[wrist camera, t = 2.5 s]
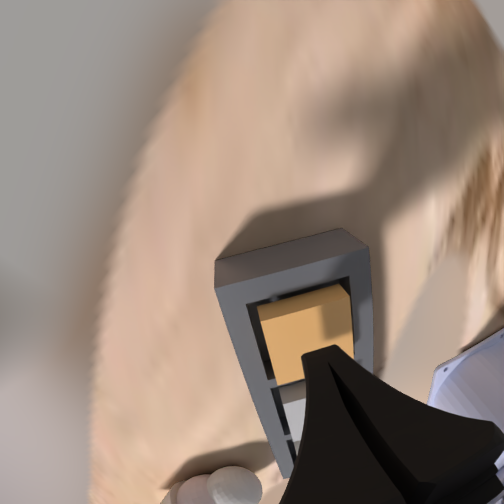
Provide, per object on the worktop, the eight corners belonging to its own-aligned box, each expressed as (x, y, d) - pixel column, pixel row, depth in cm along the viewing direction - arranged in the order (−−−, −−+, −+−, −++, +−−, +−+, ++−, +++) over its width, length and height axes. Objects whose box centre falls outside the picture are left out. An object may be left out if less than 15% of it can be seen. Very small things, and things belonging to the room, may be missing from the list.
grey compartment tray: (341, 228, 15) (368, 247, 12) (355, 425, 20) (367, 453, 18) (214, 260, 15) (214, 288, 12) (277, 448, 20) (283, 478, 17)
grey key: (346, 367, 14) (354, 382, 13) (348, 408, 16) (354, 423, 14) (278, 387, 14) (282, 404, 13) (289, 426, 16) (293, 441, 14)
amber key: (339, 283, 13) (349, 296, 12) (345, 347, 14) (353, 362, 13) (256, 306, 13) (260, 321, 11) (273, 368, 14) (277, 385, 13)
